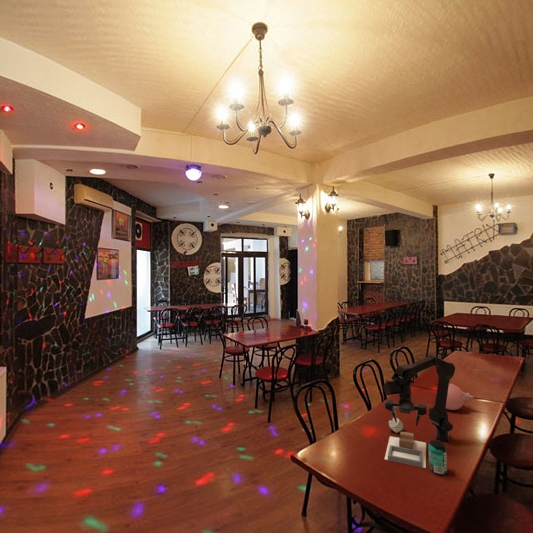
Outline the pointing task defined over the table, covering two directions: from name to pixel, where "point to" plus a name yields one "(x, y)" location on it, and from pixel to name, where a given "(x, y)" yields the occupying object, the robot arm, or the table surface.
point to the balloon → (456, 397)
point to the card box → (406, 440)
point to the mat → (406, 453)
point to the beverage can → (437, 458)
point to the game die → (395, 425)
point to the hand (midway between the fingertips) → (406, 424)
